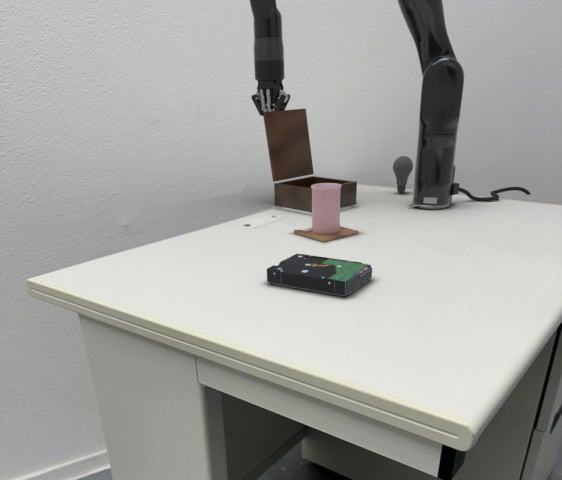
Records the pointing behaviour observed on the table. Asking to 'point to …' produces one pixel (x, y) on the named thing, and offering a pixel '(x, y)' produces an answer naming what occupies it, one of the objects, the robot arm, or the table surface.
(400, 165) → the light bulb
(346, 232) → the cork pad
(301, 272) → the disk drive
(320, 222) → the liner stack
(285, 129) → the chest lid
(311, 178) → the chest
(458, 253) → the table surface
